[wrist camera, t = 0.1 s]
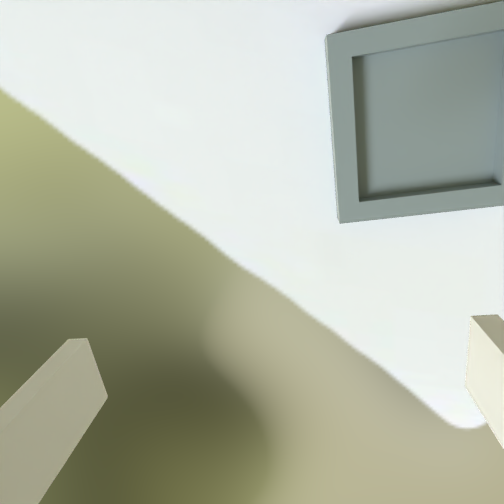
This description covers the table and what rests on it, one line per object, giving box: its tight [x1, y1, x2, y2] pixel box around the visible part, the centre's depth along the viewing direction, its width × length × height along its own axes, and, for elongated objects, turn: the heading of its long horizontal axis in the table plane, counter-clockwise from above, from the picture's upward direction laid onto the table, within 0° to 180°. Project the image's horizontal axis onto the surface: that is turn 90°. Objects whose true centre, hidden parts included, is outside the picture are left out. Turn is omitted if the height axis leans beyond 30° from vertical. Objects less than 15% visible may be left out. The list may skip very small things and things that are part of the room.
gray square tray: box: [325, 1, 504, 224], centre depth 33 cm, size 17×17×2 cm
